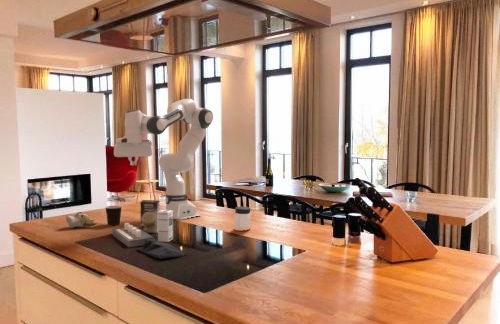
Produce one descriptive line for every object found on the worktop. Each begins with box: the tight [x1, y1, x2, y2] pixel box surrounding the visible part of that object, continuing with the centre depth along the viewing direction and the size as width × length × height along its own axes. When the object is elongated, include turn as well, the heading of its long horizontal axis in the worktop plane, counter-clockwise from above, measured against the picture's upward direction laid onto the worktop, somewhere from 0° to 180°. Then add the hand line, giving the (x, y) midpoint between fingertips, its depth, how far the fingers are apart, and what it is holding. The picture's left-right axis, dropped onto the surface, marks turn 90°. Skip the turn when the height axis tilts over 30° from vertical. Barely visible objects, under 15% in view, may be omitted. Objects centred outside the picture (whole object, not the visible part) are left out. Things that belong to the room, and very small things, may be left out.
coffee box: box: [139, 199, 160, 234], centre depth 218 cm, size 9×6×16 cm
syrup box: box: [157, 209, 174, 243], centre depth 201 cm, size 6×6×14 cm
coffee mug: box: [105, 205, 123, 227], centre depth 234 cm, size 12×9×10 cm
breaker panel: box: [111, 225, 155, 248], centre depth 202 cm, size 12×26×3 cm, turn 34°
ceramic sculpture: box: [65, 211, 98, 229], centre depth 225 cm, size 11×9×15 cm
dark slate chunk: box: [136, 239, 187, 260], centre depth 181 cm, size 15×22×5 cm
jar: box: [233, 206, 252, 229], centre depth 225 cm, size 9×8×12 cm
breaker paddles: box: [123, 222, 141, 238], centre depth 202 cm, size 2×20×3 cm, turn 34°
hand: (133, 165), depth 225 cm, fingers closed
